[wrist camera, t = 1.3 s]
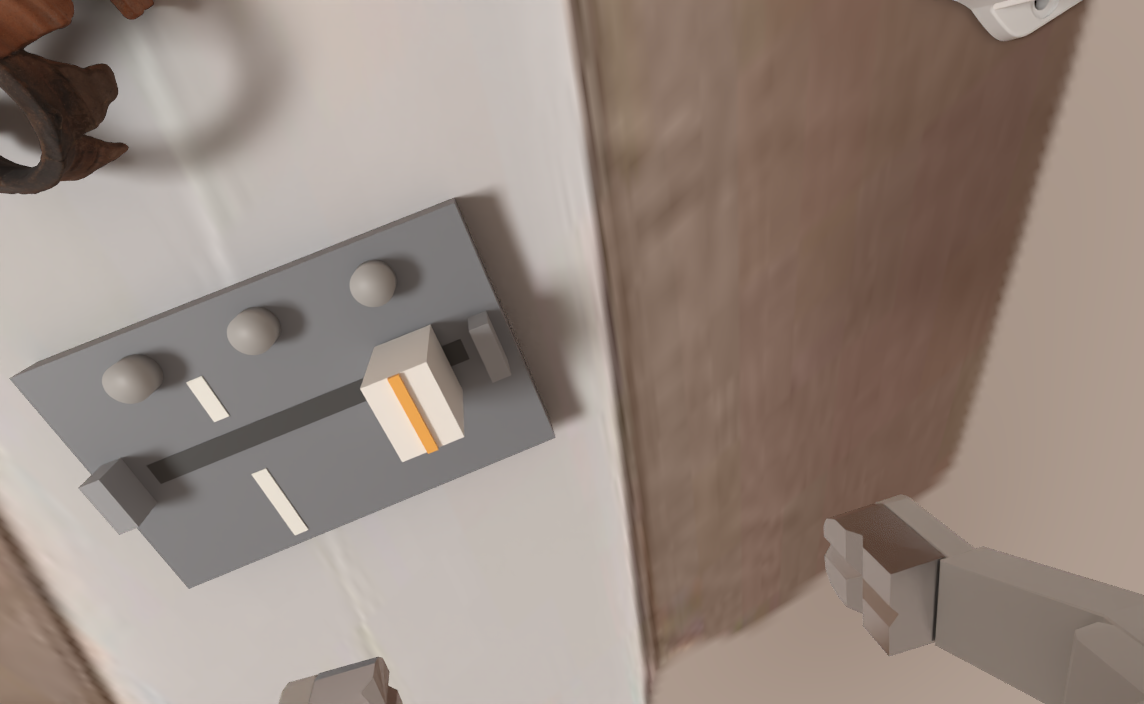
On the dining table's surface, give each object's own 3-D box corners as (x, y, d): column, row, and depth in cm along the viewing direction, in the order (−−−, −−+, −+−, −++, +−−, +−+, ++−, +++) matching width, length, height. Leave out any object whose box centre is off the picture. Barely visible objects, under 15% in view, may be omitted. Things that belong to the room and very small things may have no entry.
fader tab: (430, 324, 30) (425, 363, 25) (462, 390, 31) (464, 439, 27) (374, 347, 30) (359, 390, 25) (409, 411, 31) (401, 464, 27)
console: (454, 197, 30) (454, 208, 26) (550, 421, 36) (561, 455, 32) (37, 362, 29) (-23, 397, 26) (202, 564, 35) (173, 616, 31)
